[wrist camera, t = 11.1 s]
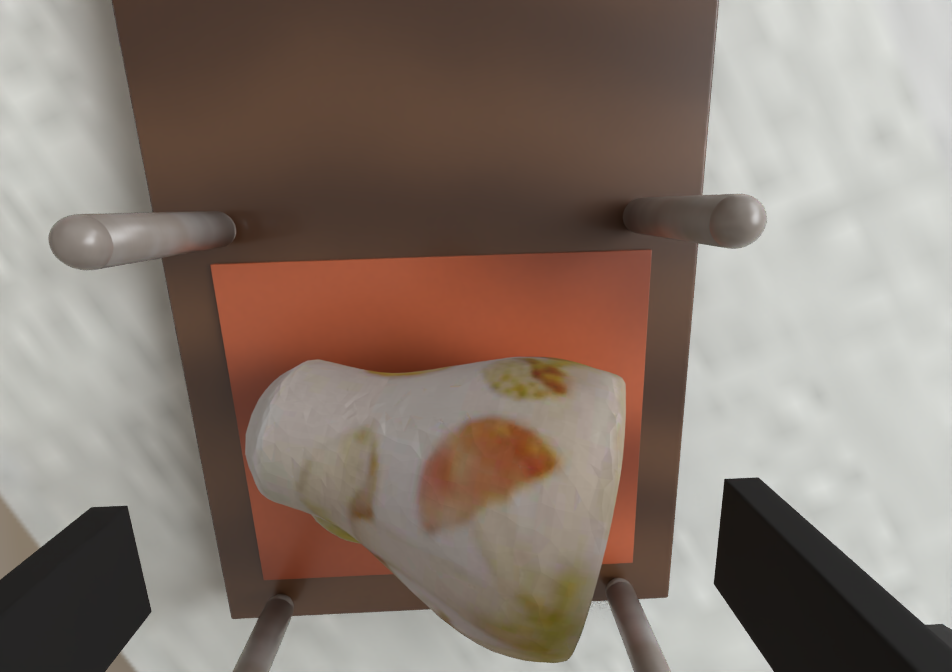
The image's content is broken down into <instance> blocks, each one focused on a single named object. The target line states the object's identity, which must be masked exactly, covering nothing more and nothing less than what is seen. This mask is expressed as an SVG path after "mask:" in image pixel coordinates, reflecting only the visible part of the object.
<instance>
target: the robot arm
mask: <svg viewBox="0 0 952 672" xmlns="http://www.w3.org/2000/svg"><path fill="white" fill-rule="evenodd" d="M714 585H715V586H716V588H717V589H718V591H719V592H720V594H721V595H722V596H723V598H724V599H725V601H726V602H727V604H728V605H729V607H730V608H731V610H732V611H733V612H734V614H735V615H736V617H737V618H738V620H739V621H740V623H741V624H742V626H743V627H744V629H745V630H746V631H747V633H748V634H749V636H750V637H751V639H752V640H753V642H754V643H755V645H756V646H757V647H758V649H759V650H760V652H761V653H762V655H763V656H764V658H765V659H766V661H767V662H768V664H769V665H770V666H771V668H772V669H773V671H774V672H952V630H951V629H950V628H948V627H946V626H944V625H943V624H935V625H924V624H923V623H922V622H921V621H920V620H919V619H918V618H917V617H915V616H914V615H913V614H912V613H911V612H910V611H909V610H908V609H906V608H905V607H904V606H903V605H902V604H901V603H900V602H898V601H897V600H896V599H895V598H894V597H893V596H892V595H891V594H889V593H888V592H887V591H886V590H885V589H884V588H883V587H882V586H880V585H879V584H878V583H877V582H876V581H875V580H874V579H872V578H871V577H870V576H869V575H868V574H867V573H866V572H865V571H863V570H862V569H861V568H860V567H859V566H858V565H857V564H856V563H854V562H853V561H852V560H851V559H850V558H849V557H848V556H846V555H845V554H844V553H843V552H842V551H841V550H840V549H839V548H837V547H836V546H835V545H834V544H833V543H832V542H831V541H829V540H828V539H827V538H826V537H825V536H824V535H823V534H822V533H820V532H819V531H818V530H817V529H816V528H815V527H814V526H813V525H811V524H810V523H809V522H808V521H807V520H806V519H805V518H803V517H802V516H801V515H800V514H799V513H798V512H797V511H796V510H794V509H793V508H792V507H791V506H790V505H789V504H788V503H787V502H785V501H784V500H783V499H782V498H781V497H780V496H779V495H777V494H776V493H775V492H774V491H773V490H772V489H771V488H770V487H768V486H767V485H766V484H765V483H764V482H763V481H762V480H761V479H759V478H738V479H725V480H724V490H723V499H722V509H721V519H720V529H719V538H718V548H717V558H716V568H715V578H714ZM150 613H151V607H150V603H149V599H148V594H147V590H146V585H145V581H144V577H143V572H142V568H141V564H140V559H139V555H138V551H137V546H136V542H135V537H134V533H133V529H132V524H131V520H130V516H129V511H128V507H127V506H111V507H91V508H90V509H89V510H87V511H86V512H85V513H84V514H82V515H81V516H80V517H79V518H77V519H76V520H75V521H74V522H72V523H71V524H70V525H69V526H67V527H66V528H65V529H64V530H62V531H61V532H60V533H59V534H57V535H56V536H55V537H54V538H52V539H51V540H50V541H48V542H47V543H46V544H45V545H43V546H42V547H41V548H40V549H38V550H37V551H36V552H35V553H33V554H32V555H31V556H30V557H28V558H27V559H26V560H25V561H23V562H22V563H21V564H20V565H18V566H17V567H16V568H15V569H13V570H12V571H11V572H10V573H8V574H7V575H6V576H5V577H3V578H2V579H1V580H0V672H105V671H106V670H107V668H108V667H109V666H110V664H111V663H112V662H113V661H114V659H115V658H116V657H117V656H118V654H119V653H120V652H121V650H122V649H123V648H124V647H125V645H126V644H127V643H128V641H129V640H130V639H131V637H132V636H133V635H134V634H135V632H136V631H137V630H138V628H139V627H140V626H141V625H142V623H143V622H144V621H145V619H146V618H147V617H148V616H149V614H150Z"/></svg>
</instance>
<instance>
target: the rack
mask: <svg viewBox="0 0 952 672" xmlns="http://www.w3.org/2000/svg"><path fill="white" fill-rule="evenodd" d="M112 5H113V10H114V15H115V20H116V25H117V31H118V36H119V41H120V46H121V51H122V56H123V62H124V67H125V72H126V77H127V82H128V87H129V92H130V98H131V103H132V108H133V113H134V118H135V123H136V128H137V134H138V139H139V144H140V149H141V154H142V159H143V164H144V170H145V175H146V180H147V185H148V190H149V195H150V201H151V206H152V211H153V213H114V214H77V215H70V216H67V217H64V218H62V219H60V220H59V221H57V222H56V223H55V224H54V225H53V227H52V228H51V230H50V233H49V245H50V248H51V250H52V252H53V254H54V255H55V256H56V258H58V259H59V260H60V261H61V262H63V263H64V264H66V265H68V266H70V267H72V268H76V269H80V270H96V269H102V268H108V267H113V266H119V265H124V264H130V263H136V262H141V261H147V260H153V259H158V258H162V262H163V267H164V273H165V278H166V283H167V288H168V293H169V298H170V303H171V309H172V314H173V319H174V324H175V329H176V334H177V340H178V345H179V350H180V355H181V360H182V365H183V370H184V376H185V381H186V386H187V391H188V396H189V401H190V406H191V412H192V417H193V422H194V427H195V432H196V437H197V443H198V448H199V453H200V458H201V463H202V468H203V473H204V479H205V484H206V489H207V494H208V499H209V504H210V509H211V515H212V520H213V525H214V530H215V535H216V540H217V545H218V551H219V556H220V561H221V566H222V571H223V576H224V582H225V587H226V592H227V597H228V602H229V607H230V612H231V618H232V619H241V618H259V619H258V621H257V623H256V625H255V627H254V629H253V631H252V633H251V635H250V637H249V639H248V641H247V643H246V645H245V647H244V649H243V651H242V653H241V655H240V657H239V660H238V662H237V664H236V666H235V668H234V670H233V672H269V671H270V668H271V666H272V663H273V661H274V658H275V656H276V654H277V651H278V649H279V646H280V644H281V641H282V639H283V637H284V634H285V632H286V629H287V627H288V624H289V622H290V619H291V617H292V616H302V615H323V614H343V613H363V612H384V611H404V610H424V609H430V608H429V607H428V606H427V605H426V604H425V603H424V602H422V601H421V600H420V599H419V598H418V597H417V596H416V595H415V594H414V593H413V592H412V591H411V590H410V589H409V588H408V587H407V586H406V585H405V584H403V583H402V582H401V581H400V580H399V579H398V578H397V577H396V576H395V575H394V574H393V573H392V572H391V571H390V570H389V569H388V568H387V567H385V566H384V565H383V564H382V563H381V562H380V561H379V560H378V559H377V558H376V557H375V556H374V555H373V554H372V553H371V552H370V551H369V550H368V549H367V548H365V547H364V546H363V545H362V544H359V543H354V542H350V541H346V540H344V539H341V538H339V537H338V536H336V535H334V534H332V533H330V532H329V531H327V530H326V529H325V528H324V527H322V526H321V525H320V524H319V523H318V522H316V520H315V519H314V518H313V516H312V515H311V514H308V513H306V512H303V511H301V510H297V509H294V508H291V507H288V506H286V505H282V504H279V503H275V502H273V501H271V500H269V499H267V498H266V497H265V496H264V495H262V494H261V493H260V491H259V490H258V488H257V486H256V484H255V481H254V478H253V475H252V473H251V471H250V469H249V466H248V462H247V459H246V455H245V443H246V432H247V428H248V425H249V421H250V418H251V415H252V413H253V411H254V408H255V406H256V404H257V402H258V400H259V398H260V397H261V396H262V394H263V393H264V391H265V390H266V389H267V388H268V387H269V386H270V385H271V383H272V382H273V381H274V380H276V379H277V378H278V377H279V376H281V375H282V374H284V373H285V372H287V371H289V370H291V369H293V368H295V367H296V366H298V365H300V364H301V363H303V362H306V361H308V360H317V359H319V360H324V361H328V362H333V363H337V364H341V365H345V366H350V367H354V368H359V369H364V370H369V371H375V372H384V373H408V372H416V371H424V370H431V369H437V368H443V367H449V366H456V365H463V364H469V363H475V362H481V361H488V360H495V359H502V358H509V357H553V358H559V359H565V360H569V361H573V362H577V363H580V364H584V365H587V366H590V367H593V368H596V369H600V370H603V371H607V372H610V373H613V374H616V375H618V376H620V377H622V378H623V380H624V382H625V385H626V420H625V438H624V449H623V460H622V468H621V475H620V481H619V486H618V492H617V497H616V502H615V508H614V513H613V518H612V523H611V528H610V533H609V537H608V541H607V545H606V549H605V553H604V557H603V561H602V565H601V569H600V573H599V576H598V580H597V584H596V587H595V591H594V595H593V598H592V601H608V603H609V605H610V608H611V611H612V613H613V616H614V619H615V621H616V624H617V627H618V629H619V632H620V635H621V637H622V640H623V643H624V646H625V648H626V651H627V654H628V656H629V659H630V662H631V664H632V667H633V670H634V672H671V671H670V668H669V666H668V664H667V662H666V659H665V657H664V655H663V653H662V651H661V648H660V646H659V644H658V642H657V640H656V637H655V635H654V633H653V631H652V628H651V626H650V624H649V622H648V620H647V617H646V615H645V613H644V611H643V608H642V606H641V604H640V602H639V600H638V599H648V598H666V597H668V590H669V578H670V567H671V555H672V543H673V532H674V520H675V508H676V497H677V485H678V473H679V462H680V450H681V438H682V426H683V415H684V403H685V391H686V380H687V368H688V356H689V345H690V333H691V321H692V310H693V298H694V286H695V274H696V263H697V251H698V243H699V244H705V245H711V246H717V247H724V248H731V249H736V248H742V247H745V246H748V245H750V244H751V243H753V242H754V241H756V240H757V239H758V238H759V237H760V235H761V234H762V232H763V231H764V229H765V226H766V222H767V216H766V211H765V209H764V206H763V205H762V204H761V202H760V201H758V200H757V199H756V198H754V197H752V196H750V195H746V194H722V195H702V193H703V181H704V169H705V157H706V146H707V134H708V122H709V111H710V99H711V87H712V76H713V64H714V52H715V41H716V29H717V17H718V5H719V0H112Z"/></svg>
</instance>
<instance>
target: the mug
mask: <svg viewBox="0 0 952 672" xmlns="http://www.w3.org/2000/svg"><path fill="white" fill-rule="evenodd" d="M625 420H626V385H625V382H624V380H623V378H622V377H620V376H618V375H616V374H613V373H610V372H607V371H603V370H600V369H596V368H593V367H590V366H587V365H584V364H580V363H577V362H573V361H569V360H565V359H559V358H553V357H509V358H502V359H495V360H488V361H481V362H475V363H469V364H463V365H456V366H449V367H443V368H437V369H431V370H424V371H416V372H408V373H384V372H375V371H369V370H364V369H359V368H354V367H350V366H345V365H341V364H337V363H333V362H328V361H324V360H319V359H317V360H308V361H306V362H303V363H301V364H300V365H298V366H296V367H295V368H293V369H291V370H289V371H287V372H285V373H284V374H282V375H281V376H279V377H278V378H277V379H276V380H274V381H273V382H272V383H271V385H270V386H269V387H268V388H267V389H266V390H265V391H264V393H263V394H262V396H261V397H260V398H259V400H258V402H257V404H256V406H255V408H254V411H253V413H252V415H251V418H250V421H249V425H248V428H247V432H246V443H245V455H246V459H247V462H248V466H249V469H250V471H251V473H252V475H253V478H254V481H255V484H256V486H257V488H258V490H259V491H260V493H261V494H262V495H264V496H265V497H266V498H267V499H269V500H271V501H273V502H275V503H279V504H282V505H286V506H288V507H291V508H294V509H297V510H301V511H303V512H306V513H308V514H311V515H312V516H313V518H314V519H315V520H316V522H318V523H319V524H320V525H321V526H322V527H324V528H325V529H326V530H327V531H329V532H330V533H332V534H334V535H336V536H338V537H339V538H341V539H344V540H346V541H350V542H354V543H359V544H362V545H363V546H364V547H365V548H367V549H368V550H369V551H370V552H371V553H372V554H373V555H374V556H375V557H376V558H377V559H378V560H379V561H380V562H381V563H382V564H383V565H384V566H385V567H387V568H388V569H389V570H390V571H391V572H392V573H393V574H394V575H395V576H396V577H397V578H398V579H399V580H400V581H401V582H402V583H403V584H405V585H406V586H407V587H408V588H409V589H410V590H411V591H412V592H413V593H414V594H415V595H416V596H417V597H418V598H419V599H420V600H421V601H422V602H424V603H425V604H426V605H427V606H428V607H429V608H430V609H431V610H432V611H433V612H435V613H436V614H437V615H438V616H439V617H440V618H441V619H443V620H444V621H445V622H447V623H448V624H449V625H451V626H452V627H453V628H455V629H456V630H457V631H458V632H460V633H461V634H463V635H464V636H466V637H467V638H469V639H471V640H472V641H474V642H476V643H477V644H479V645H481V646H483V647H485V648H487V649H489V650H491V651H493V652H496V653H499V654H503V655H506V656H509V657H513V658H517V659H521V660H525V661H533V662H547V663H558V662H563V661H567V660H568V659H569V658H570V657H571V655H572V654H573V652H574V650H575V648H576V645H577V643H578V641H579V638H580V636H581V633H582V630H583V627H584V624H585V621H586V618H587V615H588V612H589V608H590V605H591V602H592V598H593V595H594V591H595V587H596V584H597V580H598V576H599V573H600V569H601V565H602V561H603V557H604V553H605V549H606V545H607V541H608V537H609V533H610V528H611V523H612V518H613V513H614V508H615V502H616V497H617V492H618V486H619V481H620V475H621V468H622V460H623V449H624V438H625Z"/></svg>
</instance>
